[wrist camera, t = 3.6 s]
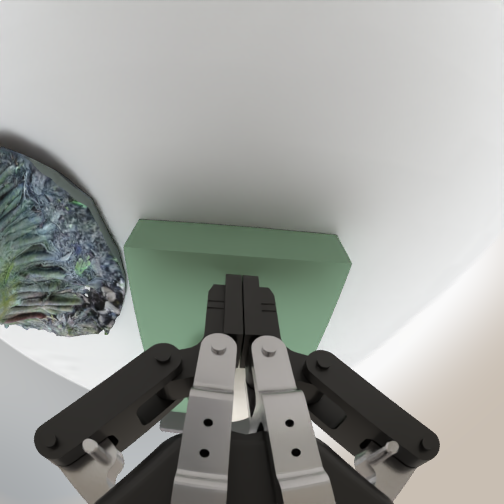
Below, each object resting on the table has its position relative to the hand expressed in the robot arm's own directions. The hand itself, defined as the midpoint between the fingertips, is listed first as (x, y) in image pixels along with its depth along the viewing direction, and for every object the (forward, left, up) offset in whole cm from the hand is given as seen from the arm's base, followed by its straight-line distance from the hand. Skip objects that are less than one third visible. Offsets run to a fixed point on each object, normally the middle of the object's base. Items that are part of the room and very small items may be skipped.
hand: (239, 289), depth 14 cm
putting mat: (+9, 0, -5) cm, 10 cm away
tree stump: (+2, -18, -5) cm, 18 cm away
